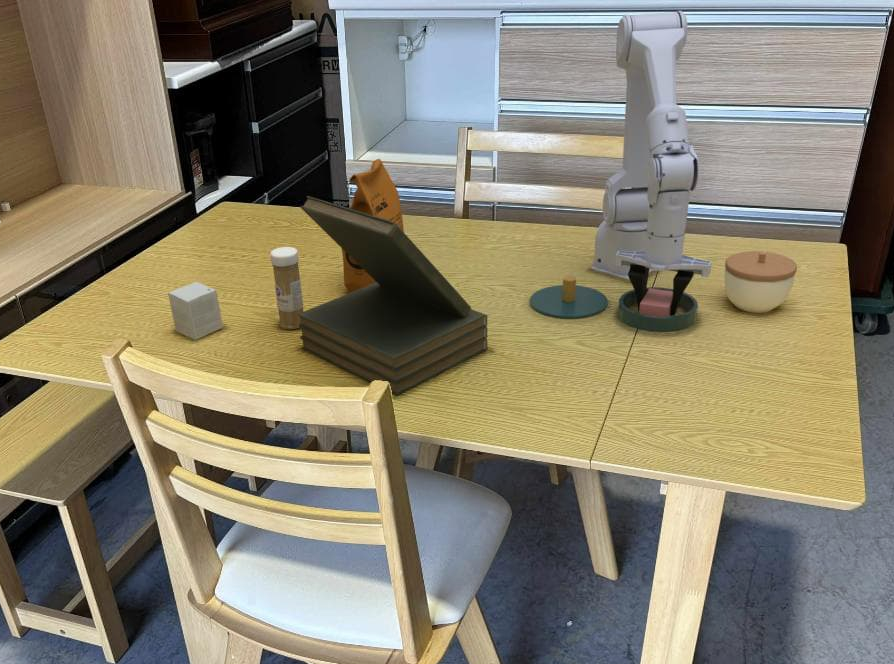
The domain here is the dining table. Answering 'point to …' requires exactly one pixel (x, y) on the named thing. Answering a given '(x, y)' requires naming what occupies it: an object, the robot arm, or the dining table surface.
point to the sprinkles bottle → (287, 286)
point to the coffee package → (375, 200)
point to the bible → (389, 307)
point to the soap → (656, 303)
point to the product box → (195, 310)
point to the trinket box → (758, 280)
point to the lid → (568, 300)
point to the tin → (657, 322)
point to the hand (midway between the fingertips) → (657, 310)
